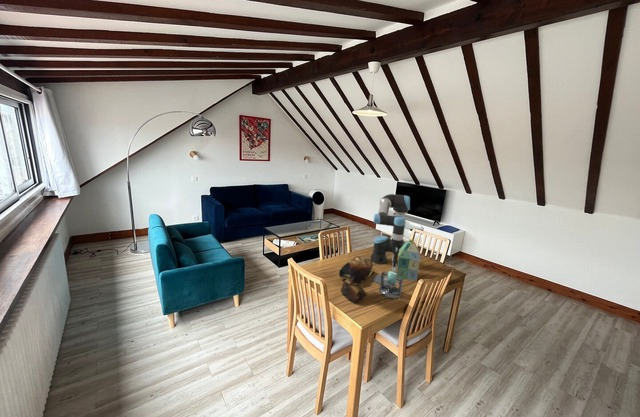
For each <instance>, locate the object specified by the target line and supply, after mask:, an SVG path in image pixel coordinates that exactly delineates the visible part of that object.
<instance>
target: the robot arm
mask: <svg viewBox="0 0 640 417" xmlns="http://www.w3.org/2000/svg"><path fill="white" fill-rule="evenodd" d="M390 209H393V211H394V215H390V214H389V211H390ZM410 210H411V198H410V196H408V195H406V194H405V195H403V194H394V193H390V194H386V195H384V196H382V197H381V198H380V200H379V209H378V213H375V214H374V216H373V224H375V225H382V226H388V227H389V226H390V227H392V234H391V236H390V238H388V236H387V235H378V236H376V237H374V240H373V250H372V252H371V256H370V258H369V259H370V260H371V261H372V263H374V264H378V265H385V264H386V263H387V262H388V257H387V253H392V258H391V264H392V267H391V271H394V272H397V266H398V259H399V257H398V255H399V249H400V248H401V247H402V246H403V245H404V244H405V243H406V241H405V240H404V237H405V234H404V233H405V227H406V214H407V213H408V211H410Z"/></svg>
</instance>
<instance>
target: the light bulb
mask: <svg viewBox="0 0 640 417" xmlns="http://www.w3.org/2000/svg"><path fill="white" fill-rule="evenodd" d="M387 273H388V275H387V276H385V278H384V280H387V282H388V283H390V284H395V285H397V286H399V285H400V281H398V280H397V271H392V270H389V271H387Z"/></svg>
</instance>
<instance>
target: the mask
mask: <svg viewBox="0 0 640 417" xmlns="http://www.w3.org/2000/svg"><path fill="white" fill-rule="evenodd" d="M349 264H350V262H348V261H347V263H345V264H344V265H342V266H341V267H340V269H339V270H338V277H339V278H340V279H341V280H342V279H343V280H344V279H345V280H347V279H349V277H350V275H351V273H350V270H349V268H348V266H349ZM374 272H375V269H371V272H370V274H369V276H368V278H370V277H371V276H372V274H373V273H374Z"/></svg>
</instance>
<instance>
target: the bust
mask: <svg viewBox="0 0 640 417" xmlns="http://www.w3.org/2000/svg"><path fill="white" fill-rule="evenodd" d="M349 263H350V264H349V266H348V268H349V270H350V273H351V275H350V277H349V279H345V280H344V281H343V283H342V286H341V288H340V292H341V295H342V296H343V297H344V298H345V299H346V300H347V301H349V302H350V303H353V304H356V303H358V302H359V301H361V300H364V299H365V297H366V296H367V294H368V293H367V292H366V291H365V290H364V289H363V287H362V286H361V283H362V282H365V281H367V279H368V278H369V277H370V276H369V274H370V272H371V271H372V270H373V266H374V264H373V263H374V262H372V261H371V260H370V258H369V257H367V256H364V255H357V256H354V257H353V258H351V260H350V262H349ZM368 276H369V277H368Z"/></svg>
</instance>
